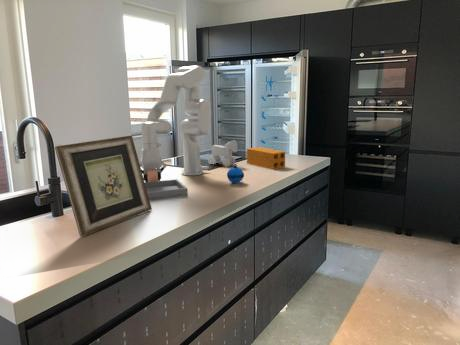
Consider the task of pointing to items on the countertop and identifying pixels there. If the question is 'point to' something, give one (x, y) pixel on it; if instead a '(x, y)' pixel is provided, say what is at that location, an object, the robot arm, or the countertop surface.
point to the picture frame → (103, 182)
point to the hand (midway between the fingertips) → (152, 180)
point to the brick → (266, 158)
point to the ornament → (235, 174)
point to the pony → (223, 154)
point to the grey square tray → (165, 189)
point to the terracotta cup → (152, 175)
